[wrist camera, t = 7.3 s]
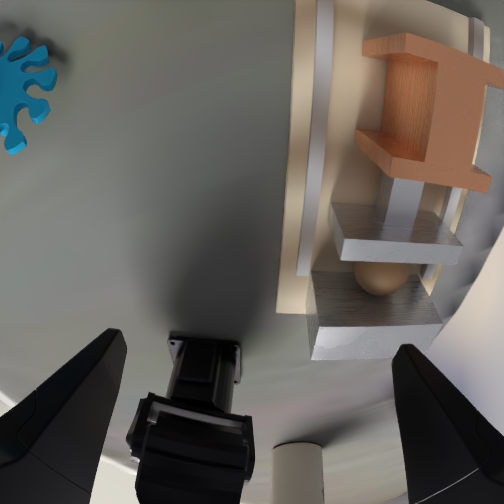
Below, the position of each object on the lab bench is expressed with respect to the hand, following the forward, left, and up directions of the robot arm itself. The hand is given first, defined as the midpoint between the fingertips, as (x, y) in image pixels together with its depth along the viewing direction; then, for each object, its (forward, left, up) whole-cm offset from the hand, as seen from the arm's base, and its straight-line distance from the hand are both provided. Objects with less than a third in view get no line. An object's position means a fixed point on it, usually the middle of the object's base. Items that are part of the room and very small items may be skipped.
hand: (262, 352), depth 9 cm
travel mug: (-42, -7, -12) cm, 44 cm away
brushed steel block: (-6, -7, -10) cm, 14 cm away
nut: (-2, -7, -10) cm, 13 cm away
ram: (+5, -7, -10) cm, 13 cm away
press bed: (+2, -7, -12) cm, 14 cm away
